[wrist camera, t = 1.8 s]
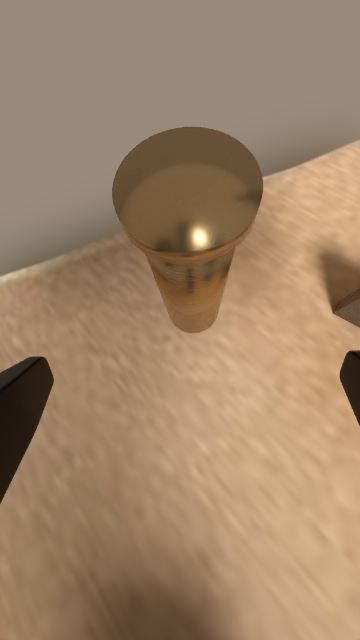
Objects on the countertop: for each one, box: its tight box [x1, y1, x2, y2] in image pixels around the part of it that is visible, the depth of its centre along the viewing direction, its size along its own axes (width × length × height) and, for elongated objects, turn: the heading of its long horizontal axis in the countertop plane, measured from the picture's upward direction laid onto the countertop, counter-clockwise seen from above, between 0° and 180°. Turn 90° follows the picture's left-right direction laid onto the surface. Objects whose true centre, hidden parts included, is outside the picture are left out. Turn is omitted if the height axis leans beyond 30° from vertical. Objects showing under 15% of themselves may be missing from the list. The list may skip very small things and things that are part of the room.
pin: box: [112, 127, 263, 333], centre depth 14 cm, size 5×5×13 cm
